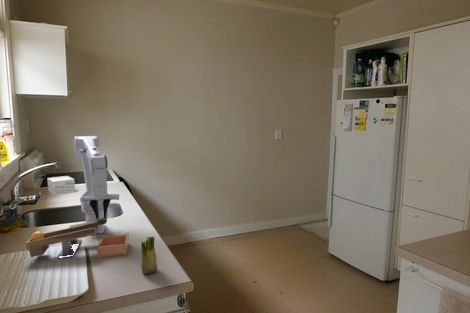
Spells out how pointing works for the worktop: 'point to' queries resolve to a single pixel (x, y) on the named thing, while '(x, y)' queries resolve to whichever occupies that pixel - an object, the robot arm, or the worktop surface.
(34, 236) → the ball
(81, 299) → the worktop surface
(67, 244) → the stand
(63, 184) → the white napkin stack
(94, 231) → the wooden tray
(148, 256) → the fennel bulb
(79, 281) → the worktop surface
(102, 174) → the robot arm
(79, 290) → the worktop surface
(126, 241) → the open box
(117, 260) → the worktop surface
